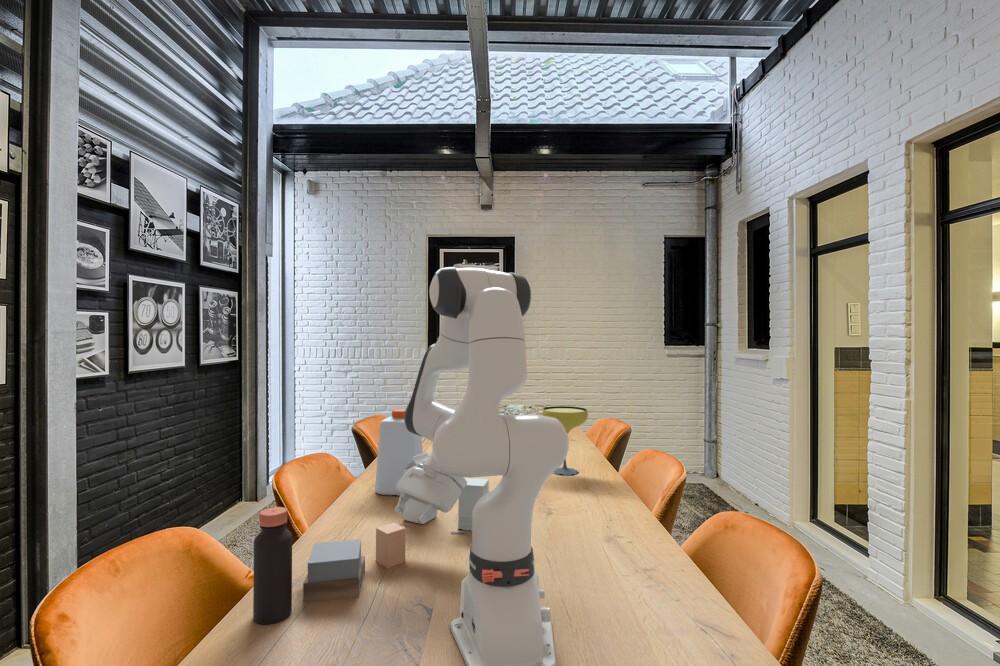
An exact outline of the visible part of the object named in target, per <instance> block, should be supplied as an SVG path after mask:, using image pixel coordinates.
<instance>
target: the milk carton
mask: <svg viewBox="0 0 1000 666" xmlns="http://www.w3.org/2000/svg"><path fill="white" fill-rule="evenodd" d="M429 456H430V455H429V451H426V452H423V454H420V455H417V456H414V457H413V461H412V462H411V463H410V464H409V465H408V466H407V467H406V468H404V474H405V473H406V472H407V471H408V470H409V469H410V468H411V467H413V466H415V465H418V464H419V463H420V464H424V463H425V461H426V460H427V458H428V457H429ZM417 467H418V466H417ZM427 506H428V505H425V504H423V503H420V502H418V501H415V500H413V499H411V498H410V499H409V500H408V501H406V503H405V506H404V507H405V508H406V509H405V510H404V511H403V513H402V514H403V515H402V516H403V518H402V519H403V521H407V522H411V523H416V524H420V525H423V524H422V523H420V522H418V521H417V517H418V516H419V514H420V513H423V512H424V511H426V510H427V509H428V508H427ZM437 517H438V510H437V511H436V513H435V514H434V515H432V516H431V517H429V518H428V519H427V520H426V522H425V523H424V524H426V523H428V522H430V521H431V520H433V519H435V518H437Z"/></svg>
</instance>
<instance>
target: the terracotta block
mask: <svg viewBox="0 0 1000 666" xmlns="http://www.w3.org/2000/svg"><path fill="white" fill-rule="evenodd" d="M406 531H407V529H406V527H404V526H403V525H401V524H398V523H396V522H392V523H391V522H390V523H387V524H384V525H380V526H378V527H376V528H375V562H376V563H378V564H379V565H381V566H383V567H384V568H386V569H389V568H391V567H394V566H398V565H399V564H403V563H404V562H406V536H407V535H406V534H407V533H406Z"/></svg>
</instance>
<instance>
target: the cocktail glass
mask: <svg viewBox="0 0 1000 666" xmlns="http://www.w3.org/2000/svg"><path fill="white" fill-rule="evenodd" d="M541 412H542V414H541V415H542V416H548V417H553V418H556V419H558V420H559V421H560V422H561V424H562V425H563V426H564V428H565V430H566V432H567V435H568V434H569V433H570V432H571V430H573V429H575V428H577V427H579V426H581V425H582V424H584V423H585V422H587V420H588V416H589V412H588V409H587V408H584V407H578V406H570V405H569V406H567V405H564V406H562V405H561V406H559V405H558V406H547V407H544V408H543V409H542V411H541ZM575 469H576V468H573V467H572V468H571V467H568V465H567V458H566V459H565V460H564V462H563V463H562V467H559V468H557V469H556V470H555V471H554V473H556V474H555V475H557V474H563V475H562V476H564V475H570V476H573V475H572V474H576V473H577V472H578V473H579V470H578V469H576V470H575ZM577 470H578V471H577ZM554 473H553V474H554ZM576 475H577V474H576Z"/></svg>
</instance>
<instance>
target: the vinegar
mask: <svg viewBox="0 0 1000 666" xmlns="http://www.w3.org/2000/svg"><path fill="white" fill-rule="evenodd" d="M258 520H259V528H260V529H261V530H260V532H259V533H258V534H257V535H256V537H254V539H253V540H254V541H253V591H252V592H253V599H252V600H253V602H252V603H253V605H252V606H253V607H252V608H253V609H252V611H253V612H252V613H253V615H252V617H253V621H254V622H255V623H257V624H260V625H271V624H276V623H279V622H281V621H283V620H285V619H287V618H288V617H289V616H290V615H291V613H292V611H293V609H292V608H293V606H292V604H293V603H292V602H293V534H292V532H291V531H290V530H289V529H287V528H286V526H287V524H288V509H287V508H286V507H283V506H273V507H270V508H269V507H268V508H266V509H263V510H261V511H260V512H259V519H258Z"/></svg>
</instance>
